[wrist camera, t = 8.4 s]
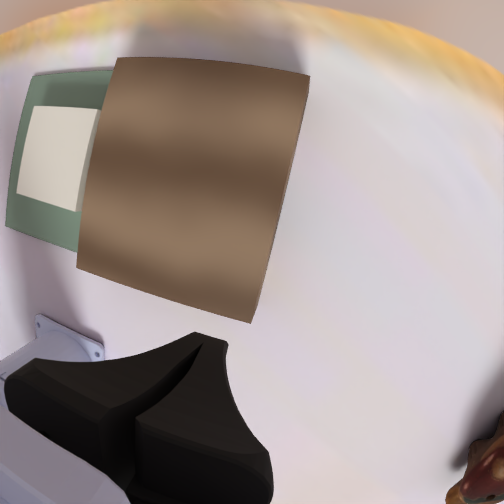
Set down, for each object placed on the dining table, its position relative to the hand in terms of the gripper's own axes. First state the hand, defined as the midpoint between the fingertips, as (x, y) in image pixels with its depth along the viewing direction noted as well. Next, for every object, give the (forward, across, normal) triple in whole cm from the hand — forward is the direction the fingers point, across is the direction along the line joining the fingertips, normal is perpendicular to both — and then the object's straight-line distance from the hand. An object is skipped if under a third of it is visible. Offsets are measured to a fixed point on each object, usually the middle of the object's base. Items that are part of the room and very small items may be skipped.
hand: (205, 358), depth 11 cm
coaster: (+9, +16, -6) cm, 19 cm away
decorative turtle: (+10, -28, +10) cm, 31 cm away
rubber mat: (+9, +17, -6) cm, 20 cm away
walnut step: (+9, +5, -6) cm, 12 cm away
